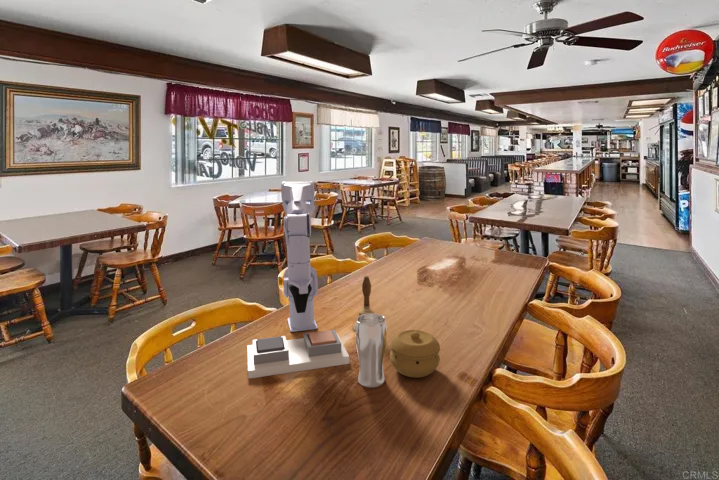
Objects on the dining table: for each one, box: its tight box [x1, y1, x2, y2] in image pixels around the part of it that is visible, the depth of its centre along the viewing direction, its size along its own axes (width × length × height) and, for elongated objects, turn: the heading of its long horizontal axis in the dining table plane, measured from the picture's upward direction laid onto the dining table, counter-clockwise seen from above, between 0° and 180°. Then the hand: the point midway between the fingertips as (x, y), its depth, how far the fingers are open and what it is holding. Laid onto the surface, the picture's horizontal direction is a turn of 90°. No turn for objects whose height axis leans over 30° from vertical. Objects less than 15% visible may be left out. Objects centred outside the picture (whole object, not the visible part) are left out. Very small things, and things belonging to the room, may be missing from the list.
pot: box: [389, 329, 441, 379], centre depth 96 cm, size 12×12×10 cm
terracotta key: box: [307, 329, 336, 346], centre depth 104 cm, size 6×6×3 cm
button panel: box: [246, 329, 350, 380], centre depth 103 cm, size 13×24×4 cm, turn 106°
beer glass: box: [355, 312, 388, 389], centre depth 91 cm, size 7×7×15 cm
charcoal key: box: [256, 335, 284, 353], centre depth 101 cm, size 6×6×3 cm
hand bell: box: [352, 275, 375, 333], centre depth 118 cm, size 8×8×16 cm
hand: (300, 311), depth 105 cm, fingers closed
